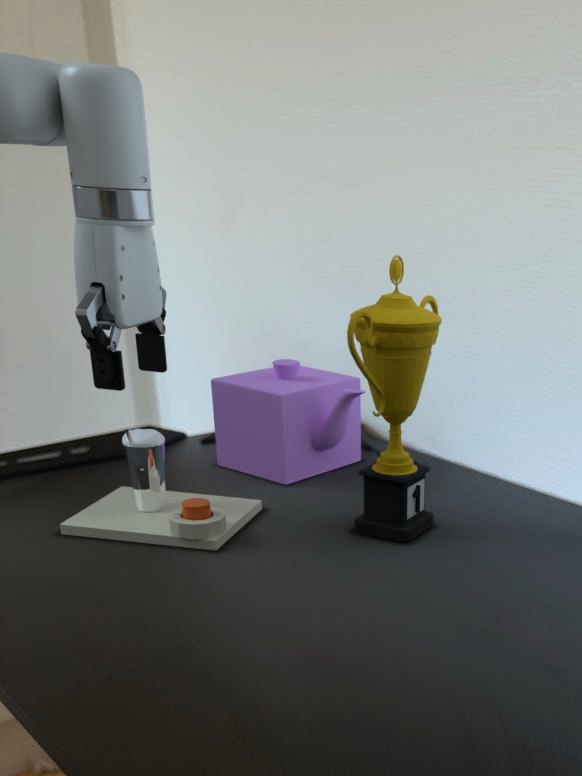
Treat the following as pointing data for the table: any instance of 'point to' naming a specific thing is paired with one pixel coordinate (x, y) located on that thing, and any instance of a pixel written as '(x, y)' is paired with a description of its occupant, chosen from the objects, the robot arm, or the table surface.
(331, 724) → the table surface
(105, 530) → the scale
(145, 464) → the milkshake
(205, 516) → the button
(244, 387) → the teapot
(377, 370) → the trophy
